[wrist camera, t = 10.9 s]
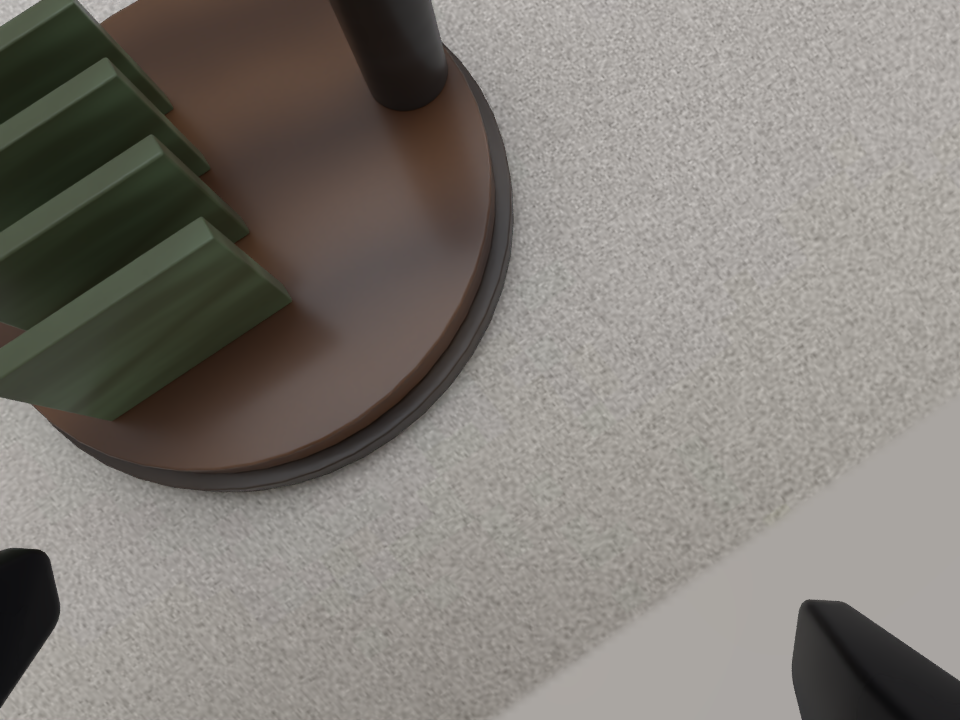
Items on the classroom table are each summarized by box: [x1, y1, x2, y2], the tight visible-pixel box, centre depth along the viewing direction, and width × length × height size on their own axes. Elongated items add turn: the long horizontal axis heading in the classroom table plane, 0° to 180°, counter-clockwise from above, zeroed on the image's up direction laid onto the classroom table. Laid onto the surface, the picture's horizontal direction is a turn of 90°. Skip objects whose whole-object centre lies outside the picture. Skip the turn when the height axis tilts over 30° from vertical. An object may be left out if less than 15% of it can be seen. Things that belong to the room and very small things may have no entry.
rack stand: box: [47, 43, 514, 492], centre depth 23 cm, size 18×18×1 cm
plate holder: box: [0, 0, 495, 473], centre depth 16 cm, size 17×17×13 cm
